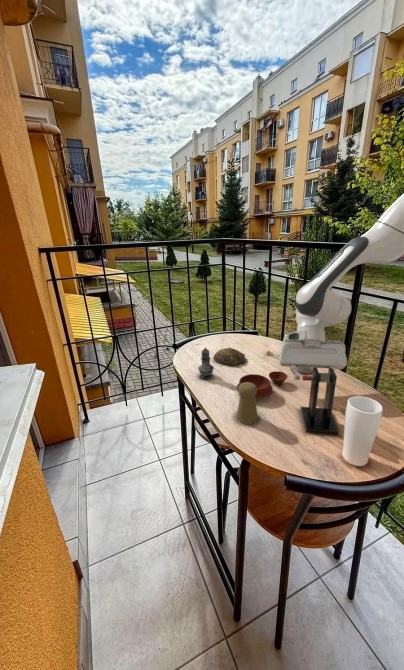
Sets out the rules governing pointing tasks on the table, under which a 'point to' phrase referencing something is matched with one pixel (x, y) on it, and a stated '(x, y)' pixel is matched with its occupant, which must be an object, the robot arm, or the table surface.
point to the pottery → (264, 382)
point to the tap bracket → (320, 417)
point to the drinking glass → (360, 429)
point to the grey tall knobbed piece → (205, 366)
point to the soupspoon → (301, 369)
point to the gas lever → (323, 378)
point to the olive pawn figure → (247, 403)
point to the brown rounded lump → (229, 356)
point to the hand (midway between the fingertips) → (313, 380)
